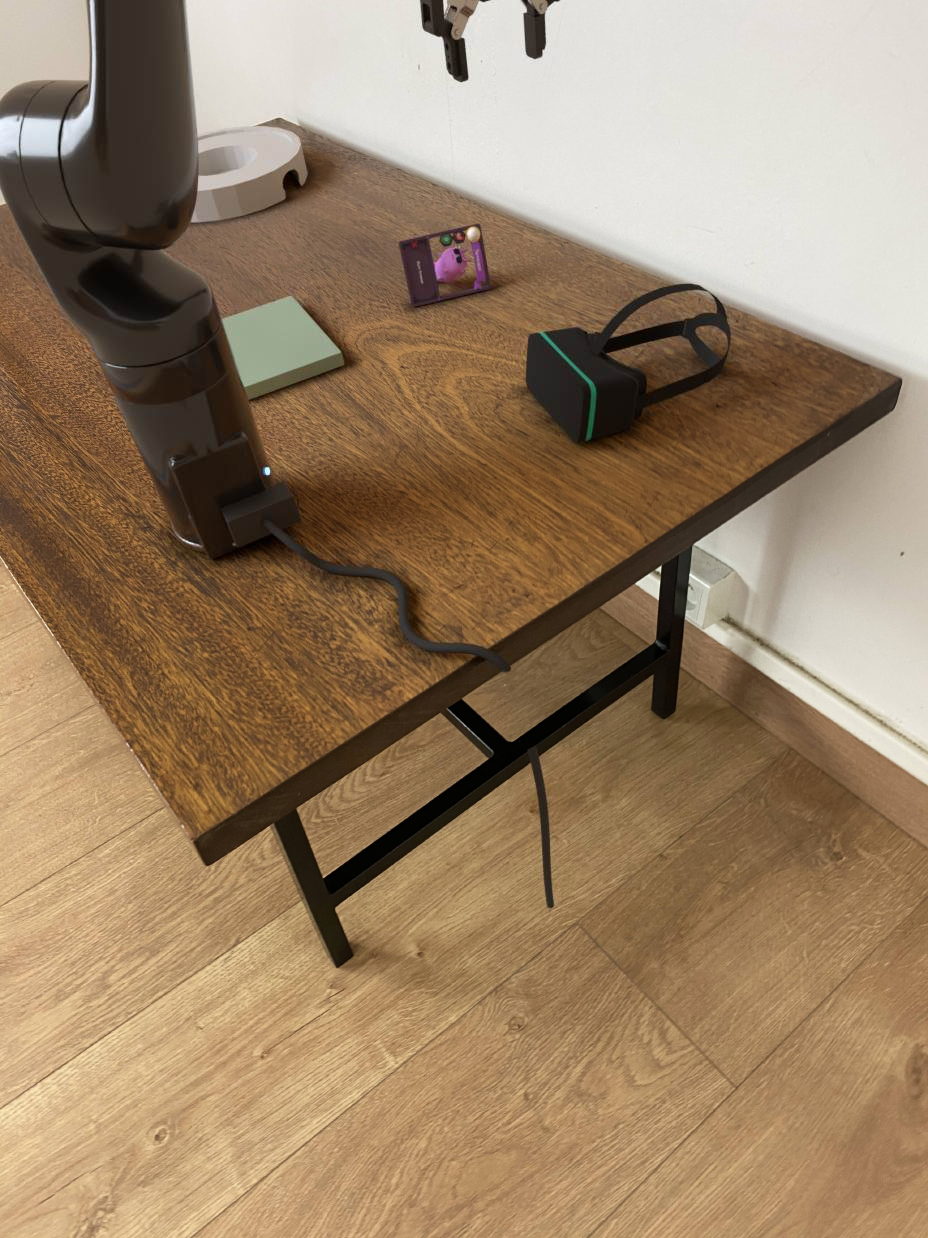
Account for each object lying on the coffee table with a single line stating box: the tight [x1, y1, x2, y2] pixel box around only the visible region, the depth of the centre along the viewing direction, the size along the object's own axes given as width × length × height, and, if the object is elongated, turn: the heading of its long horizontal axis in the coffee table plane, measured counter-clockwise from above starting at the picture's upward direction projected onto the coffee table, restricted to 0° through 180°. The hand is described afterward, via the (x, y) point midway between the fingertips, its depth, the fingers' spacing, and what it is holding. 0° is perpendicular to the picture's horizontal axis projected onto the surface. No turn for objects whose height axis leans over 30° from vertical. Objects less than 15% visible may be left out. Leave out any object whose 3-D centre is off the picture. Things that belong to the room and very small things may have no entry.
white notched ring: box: [190, 125, 309, 223], centre depth 127 cm, size 23×23×4 cm
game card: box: [398, 223, 492, 308], centre depth 99 cm, size 7×5×9 cm
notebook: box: [222, 295, 345, 401], centre depth 95 cm, size 15×11×2 cm
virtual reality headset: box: [525, 282, 732, 444], centre depth 80 cm, size 11×17×10 cm, turn 112°
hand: (498, 67), depth 90 cm, fingers open, 8 cm apart
